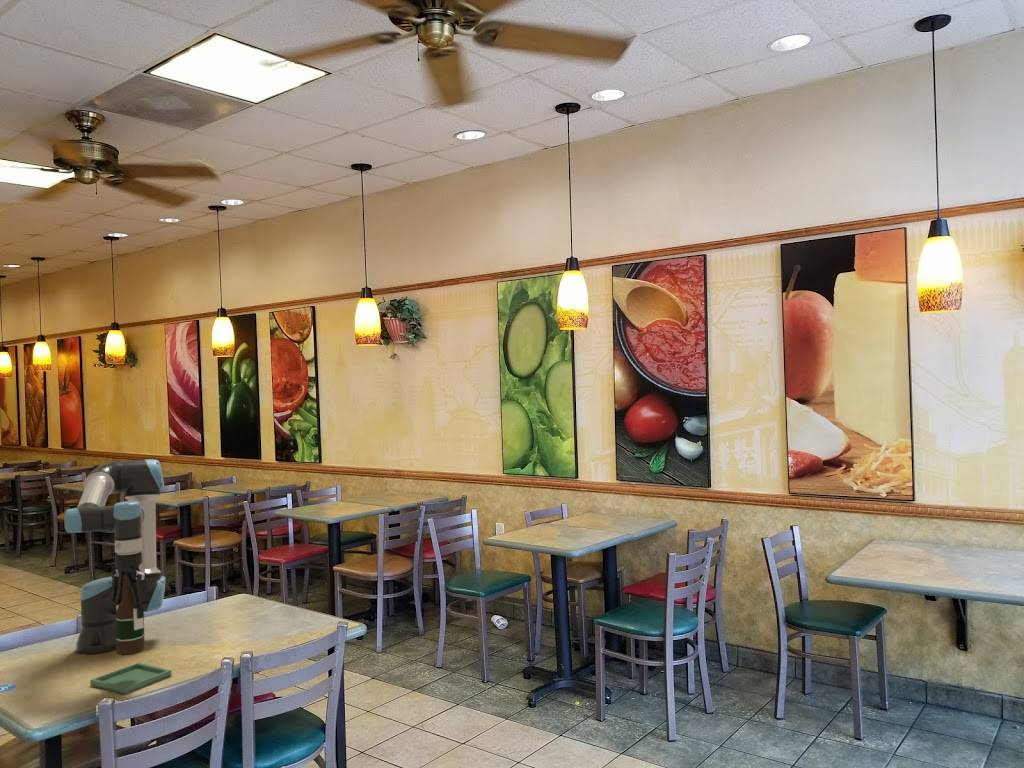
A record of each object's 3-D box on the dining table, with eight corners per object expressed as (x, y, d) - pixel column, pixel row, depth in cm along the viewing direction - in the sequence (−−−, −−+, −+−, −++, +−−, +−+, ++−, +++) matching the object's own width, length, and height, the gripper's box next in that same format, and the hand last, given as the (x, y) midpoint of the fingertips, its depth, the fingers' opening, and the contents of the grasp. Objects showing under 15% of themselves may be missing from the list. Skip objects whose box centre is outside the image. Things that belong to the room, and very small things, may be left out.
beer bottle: (133, 656, 234) (131, 576, 234) (110, 655, 235) (108, 576, 235) (150, 648, 241) (148, 570, 242) (128, 647, 243) (126, 570, 243)
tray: (90, 685, 235) (90, 679, 235) (138, 668, 249) (138, 662, 249) (124, 694, 228) (124, 688, 228) (171, 676, 242) (171, 670, 242)
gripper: (96, 552, 240) (98, 626, 240) (138, 557, 230) (140, 634, 230) (118, 547, 247) (120, 619, 247) (160, 552, 237) (162, 627, 237)
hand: (130, 626), depth 238 cm, fingers closed on beer bottle, 7 cm apart
